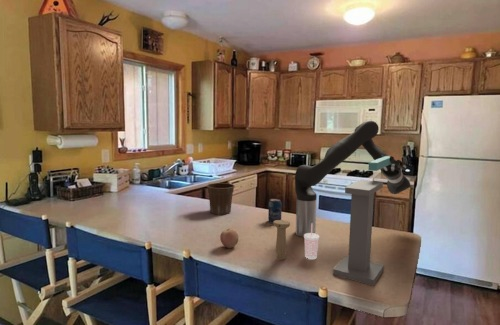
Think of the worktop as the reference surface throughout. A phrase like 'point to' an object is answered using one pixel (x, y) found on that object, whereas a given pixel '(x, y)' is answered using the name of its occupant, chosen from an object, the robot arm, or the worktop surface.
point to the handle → (281, 238)
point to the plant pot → (220, 197)
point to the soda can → (274, 210)
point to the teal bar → (379, 163)
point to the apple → (229, 238)
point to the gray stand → (360, 235)
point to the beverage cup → (311, 244)
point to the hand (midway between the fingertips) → (386, 157)
